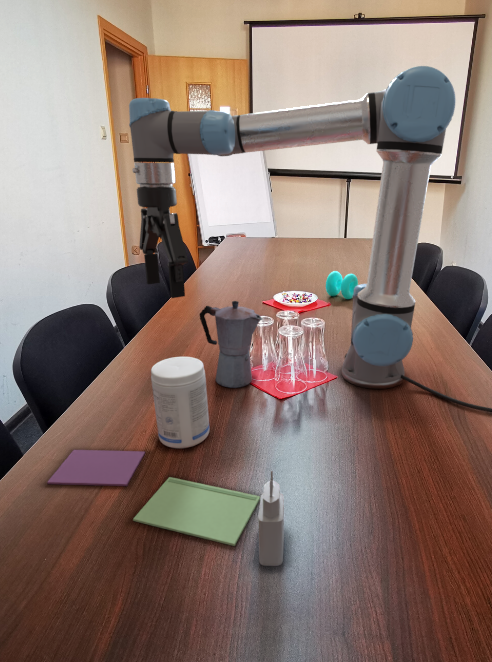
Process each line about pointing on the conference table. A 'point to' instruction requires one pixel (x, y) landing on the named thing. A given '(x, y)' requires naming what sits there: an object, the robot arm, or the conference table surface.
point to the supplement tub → (180, 401)
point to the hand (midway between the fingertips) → (165, 289)
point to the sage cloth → (199, 510)
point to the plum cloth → (98, 468)
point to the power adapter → (271, 524)
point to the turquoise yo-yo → (341, 284)
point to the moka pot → (232, 342)
